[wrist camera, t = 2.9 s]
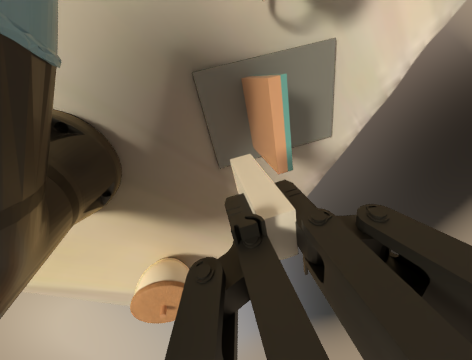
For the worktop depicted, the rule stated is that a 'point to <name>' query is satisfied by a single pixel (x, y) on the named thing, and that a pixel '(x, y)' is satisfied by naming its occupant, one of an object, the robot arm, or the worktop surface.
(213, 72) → the mat
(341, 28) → the worktop surface
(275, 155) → the tile
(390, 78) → the worktop surface
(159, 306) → the lidded jar
